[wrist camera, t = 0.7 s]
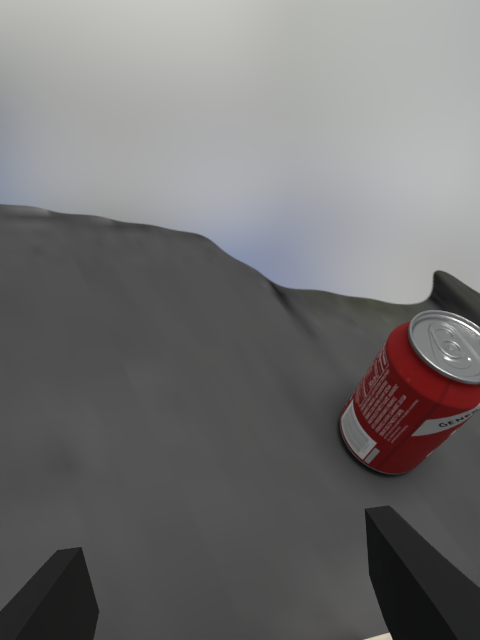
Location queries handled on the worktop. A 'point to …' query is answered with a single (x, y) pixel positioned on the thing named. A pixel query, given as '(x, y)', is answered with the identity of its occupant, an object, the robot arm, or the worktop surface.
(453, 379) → the soda can
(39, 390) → the worktop surface
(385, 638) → the birch cube
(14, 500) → the worktop surface
